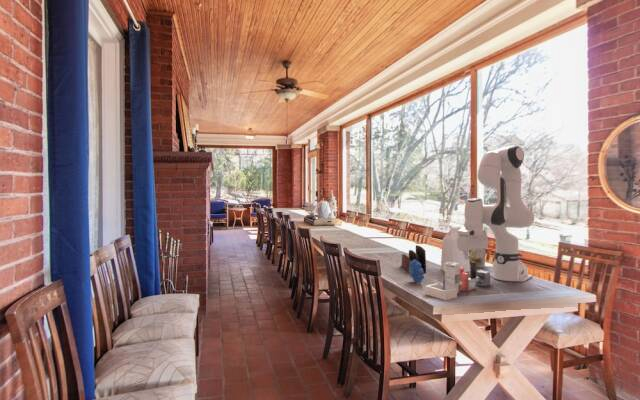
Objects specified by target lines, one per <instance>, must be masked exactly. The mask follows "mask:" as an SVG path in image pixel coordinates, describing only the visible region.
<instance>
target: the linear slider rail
mask: <svg viewBox="0 0 640 400" xmlns="http://www.w3.org/2000/svg"><path fill="white" fill-rule="evenodd" d="M459 271H460V272H459V291H464V292H469V288H470V287H469V286H470V285H469V284H472V283H475V282H476V281H480V280H483V275H481V276H476V271H477V267H476V262H470V272H464V269H463V268H460V270H459ZM490 279H492V276H491V273H490Z"/></svg>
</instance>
